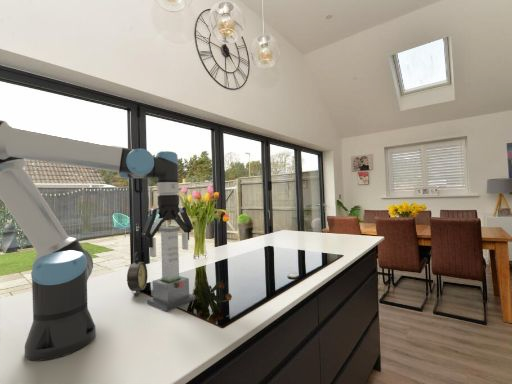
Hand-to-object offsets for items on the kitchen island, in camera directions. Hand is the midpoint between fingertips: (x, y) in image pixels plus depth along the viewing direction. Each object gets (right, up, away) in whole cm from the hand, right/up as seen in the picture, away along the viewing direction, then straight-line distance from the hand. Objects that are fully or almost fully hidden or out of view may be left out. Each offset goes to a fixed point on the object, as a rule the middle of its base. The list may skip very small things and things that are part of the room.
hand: (170, 252), depth 96 cm
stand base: (+1, -18, 0) cm, 18 cm away
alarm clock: (-17, -19, +10) cm, 27 cm away
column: (0, -10, 0) cm, 10 cm away
